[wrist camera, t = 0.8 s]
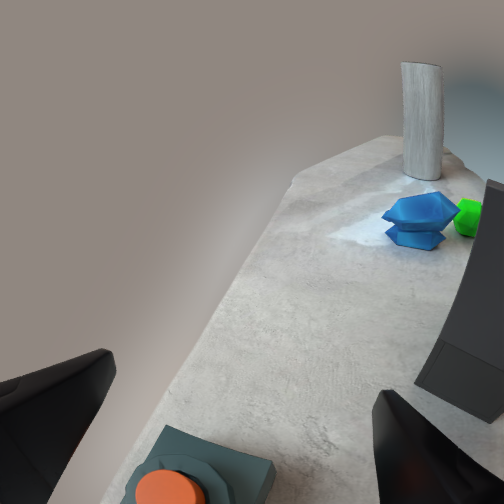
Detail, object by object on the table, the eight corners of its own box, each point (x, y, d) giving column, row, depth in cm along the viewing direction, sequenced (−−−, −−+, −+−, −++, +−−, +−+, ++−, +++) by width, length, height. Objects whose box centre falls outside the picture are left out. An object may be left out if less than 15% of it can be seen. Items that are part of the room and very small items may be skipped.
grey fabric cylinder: (447, 181, 54) (450, 67, 39) (411, 181, 55) (411, 61, 40) (429, 167, 62) (430, 66, 47) (397, 166, 64) (394, 61, 49)
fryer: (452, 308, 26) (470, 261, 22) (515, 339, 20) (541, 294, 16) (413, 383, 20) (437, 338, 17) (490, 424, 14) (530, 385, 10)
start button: (191, 535, 9) (180, 535, 8) (139, 508, 10) (125, 504, 9) (215, 489, 12) (207, 484, 11) (163, 466, 13) (151, 459, 12)
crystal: (377, 186, 38) (453, 178, 32) (386, 236, 42) (456, 231, 36) (374, 207, 33) (464, 200, 27) (383, 264, 37) (463, 259, 30)
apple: (479, 200, 30) (468, 178, 37) (446, 220, 35) (440, 195, 41) (496, 237, 31) (484, 210, 38) (465, 254, 36) (458, 226, 42)
